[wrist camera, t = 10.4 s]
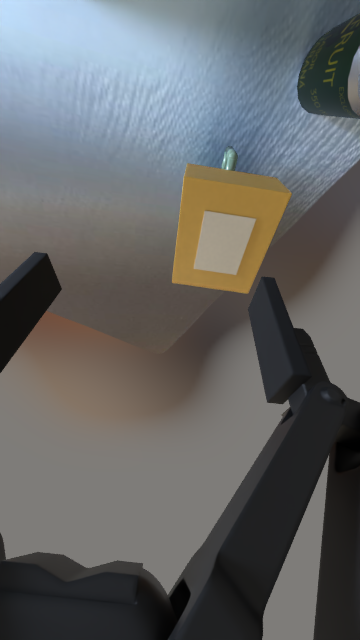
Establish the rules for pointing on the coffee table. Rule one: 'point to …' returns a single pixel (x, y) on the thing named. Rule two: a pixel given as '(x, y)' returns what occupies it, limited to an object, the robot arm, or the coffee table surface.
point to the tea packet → (225, 226)
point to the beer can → (333, 73)
